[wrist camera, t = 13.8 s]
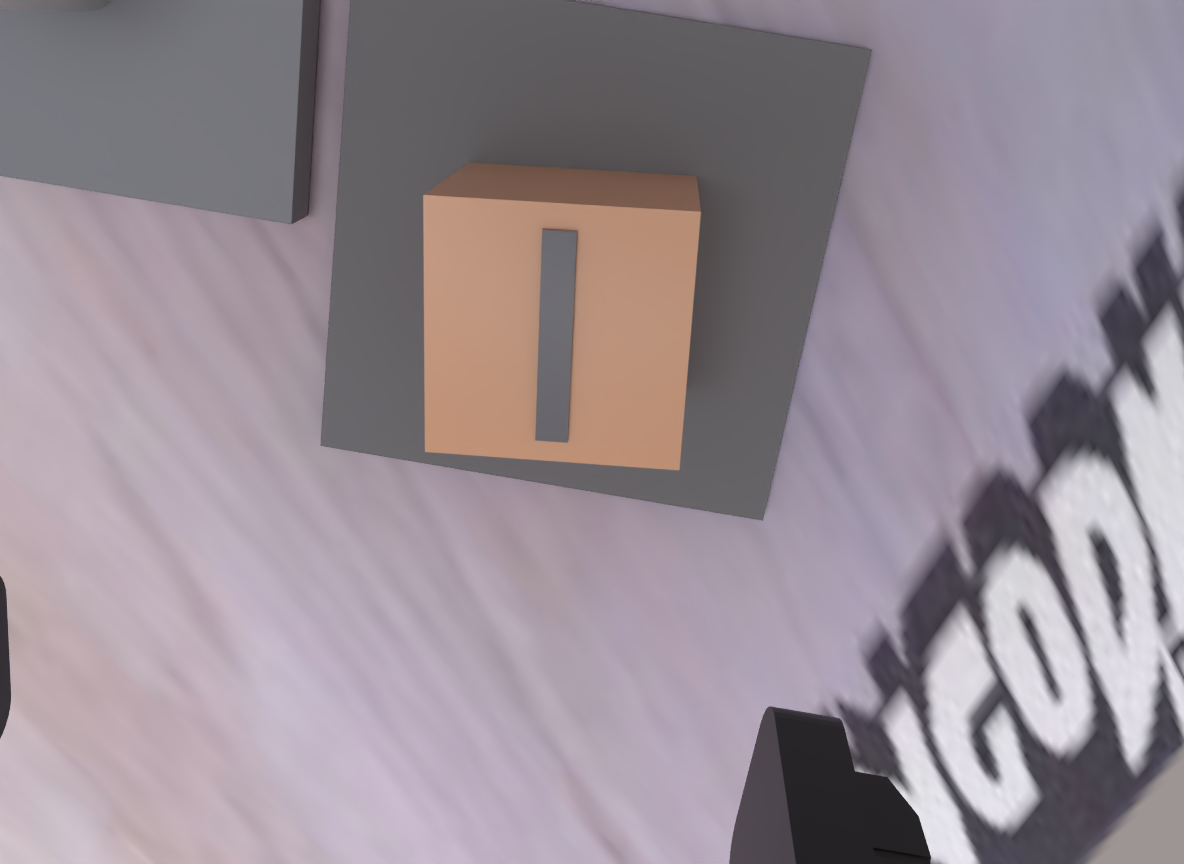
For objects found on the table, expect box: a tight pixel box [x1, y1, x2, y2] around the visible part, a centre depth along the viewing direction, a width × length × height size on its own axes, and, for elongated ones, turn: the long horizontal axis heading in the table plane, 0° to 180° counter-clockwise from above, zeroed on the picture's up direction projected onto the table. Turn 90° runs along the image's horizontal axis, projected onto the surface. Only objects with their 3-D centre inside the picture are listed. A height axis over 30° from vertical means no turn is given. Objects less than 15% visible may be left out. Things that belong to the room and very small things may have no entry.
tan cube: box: [423, 163, 701, 470], centre depth 29 cm, size 6×6×6 cm
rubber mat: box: [321, 0, 872, 520], centre depth 32 cm, size 14×14×1 cm
